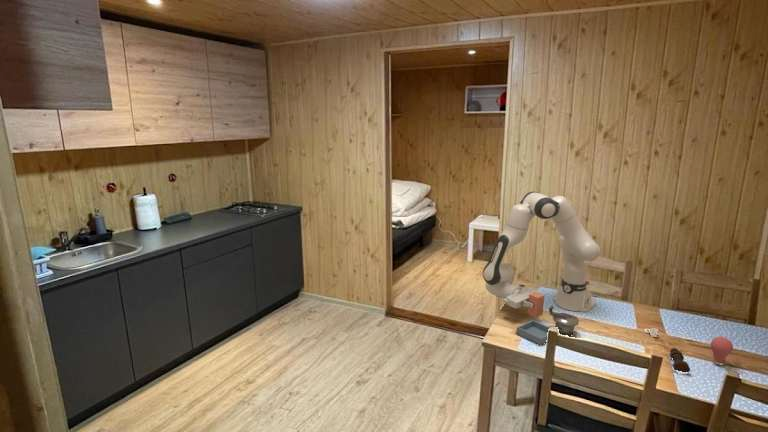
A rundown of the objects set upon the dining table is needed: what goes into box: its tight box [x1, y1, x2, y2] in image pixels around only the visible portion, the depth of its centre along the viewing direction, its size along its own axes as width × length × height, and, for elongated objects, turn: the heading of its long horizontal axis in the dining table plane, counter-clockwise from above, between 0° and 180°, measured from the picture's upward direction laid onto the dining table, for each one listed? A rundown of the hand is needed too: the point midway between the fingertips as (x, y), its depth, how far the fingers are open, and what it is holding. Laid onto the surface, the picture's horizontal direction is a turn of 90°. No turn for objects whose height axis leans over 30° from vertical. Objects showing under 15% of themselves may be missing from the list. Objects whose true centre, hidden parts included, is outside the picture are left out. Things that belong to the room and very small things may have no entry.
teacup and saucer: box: [643, 327, 659, 338], centre depth 192 cm, size 9×8×4 cm
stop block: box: [527, 292, 545, 318], centre depth 201 cm, size 5×5×10 cm
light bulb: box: [710, 336, 734, 363], centre depth 170 cm, size 7×7×12 cm
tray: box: [515, 319, 551, 346], centre depth 190 cm, size 13×13×4 cm
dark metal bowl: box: [548, 305, 580, 337], centre depth 194 cm, size 13×11×11 cm
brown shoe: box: [669, 347, 691, 373], centre depth 170 cm, size 6×5×15 cm
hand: (537, 303), depth 200 cm, fingers closed on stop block, 5 cm apart
